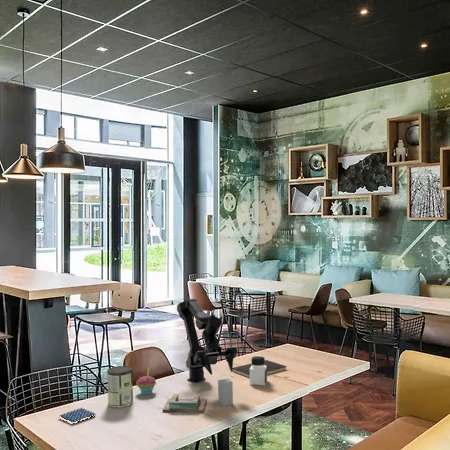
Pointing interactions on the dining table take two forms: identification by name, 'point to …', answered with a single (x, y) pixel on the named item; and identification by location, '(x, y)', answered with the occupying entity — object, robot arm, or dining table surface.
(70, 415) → the woven mat
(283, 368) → the hardcover book
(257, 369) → the medicine bottle
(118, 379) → the coffee can
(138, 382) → the cupcake
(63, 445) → the dining table surface
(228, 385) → the block
